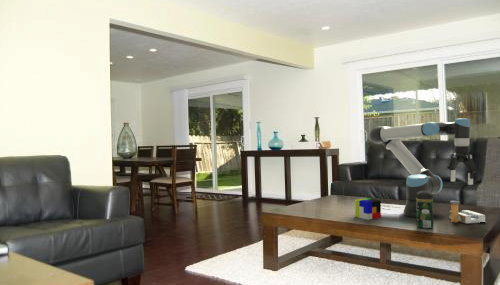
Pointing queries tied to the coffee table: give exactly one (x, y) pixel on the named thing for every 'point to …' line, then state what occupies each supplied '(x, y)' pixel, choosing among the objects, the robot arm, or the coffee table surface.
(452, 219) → the orange cylindrical piece
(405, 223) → the coffee table surface
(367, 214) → the puzzle toy
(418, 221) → the coffee jar
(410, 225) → the coffee table surface
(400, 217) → the coffee table surface
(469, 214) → the white ridged tray
